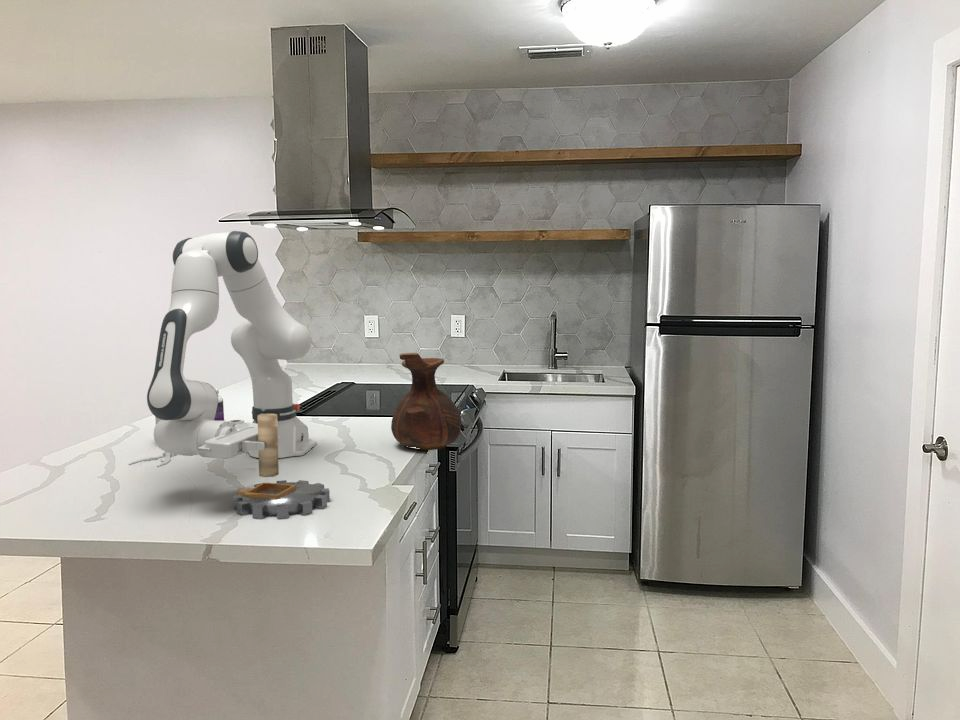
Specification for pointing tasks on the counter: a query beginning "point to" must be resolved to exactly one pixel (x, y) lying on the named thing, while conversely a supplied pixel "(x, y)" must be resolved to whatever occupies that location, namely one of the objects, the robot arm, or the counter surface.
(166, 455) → the pliers
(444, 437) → the jug
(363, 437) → the counter surface
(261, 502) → the sprocket
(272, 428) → the drive pin
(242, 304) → the robot arm
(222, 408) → the pill bottle
